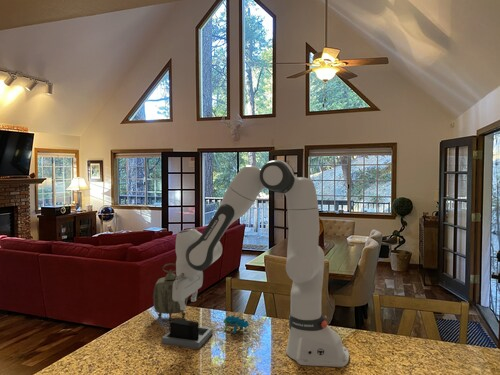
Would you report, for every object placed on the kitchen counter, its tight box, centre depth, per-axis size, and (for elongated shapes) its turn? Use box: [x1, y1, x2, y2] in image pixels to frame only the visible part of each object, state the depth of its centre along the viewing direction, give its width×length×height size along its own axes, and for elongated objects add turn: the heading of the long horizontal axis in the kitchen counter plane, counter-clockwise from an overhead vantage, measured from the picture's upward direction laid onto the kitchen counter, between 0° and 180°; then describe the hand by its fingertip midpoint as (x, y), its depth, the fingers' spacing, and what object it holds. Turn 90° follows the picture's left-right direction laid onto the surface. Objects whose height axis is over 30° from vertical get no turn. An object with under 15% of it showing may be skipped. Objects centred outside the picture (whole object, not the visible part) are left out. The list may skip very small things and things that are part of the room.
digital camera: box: [169, 318, 200, 341], centre depth 147 cm, size 10×5×7 cm, turn 68°
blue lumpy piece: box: [223, 315, 250, 335], centre depth 155 cm, size 11×6×10 cm
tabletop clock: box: [152, 262, 189, 322], centre depth 168 cm, size 14×9×25 cm, turn 94°
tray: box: [161, 326, 214, 350], centre depth 148 cm, size 15×13×2 cm
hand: (188, 305), depth 148 cm, fingers open, 8 cm apart
